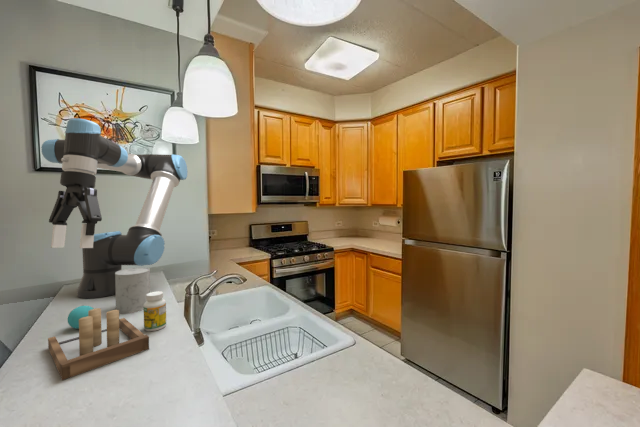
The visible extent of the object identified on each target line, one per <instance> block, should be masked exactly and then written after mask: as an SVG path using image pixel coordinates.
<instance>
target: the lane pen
mask: <svg viewBox="0 0 640 427" xmlns="http://www.w3.org/2000/svg"><path fill="white" fill-rule="evenodd" d="M119 330H120V331H122V332H123V333H124V334H125V336H127V337H128V338H129V339H128V340H126V341H123V342H119V344H116V345H113V346H110V347H107V346H106V347H104V348H101V349H98V350H95V351H94V350H93V352H91V353H88V354H85V355H82V356H80V355H79V356H76V357H73V358H69V359H68V357H66V354H65V353H64V350H63V348H62V347H61V344H59V341H58V339H57V337H56V336H52V337H51V336H50V337H48V338H47V347H48V351H49V353H50V355H51V358H52V361H53V363H54V365H55V368H56V369H57V371H58V374H59V377H60V379H61V381H64V380H67V379H71V378H73V377H75V376H78V375H81V374H84V373H88V372H89V371H92V370H95V369H97V368H100V367H103V366H105V365H108V364H111V363H114V362H117V361H119V360H122V359H125V358H127V357H131V356H133V355H137V354H138V353H139V354H140V353H141V352H145V351H146V350H147V351H148V350H149V349H150V336H149V335H148V334H144V333H143V332H142V331H141V330H139V328H137V327H136V326H135V325H133V324H132V323H131V322H130V321H128V320H127V319H126V318H125V317H123V318H119Z"/></svg>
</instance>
